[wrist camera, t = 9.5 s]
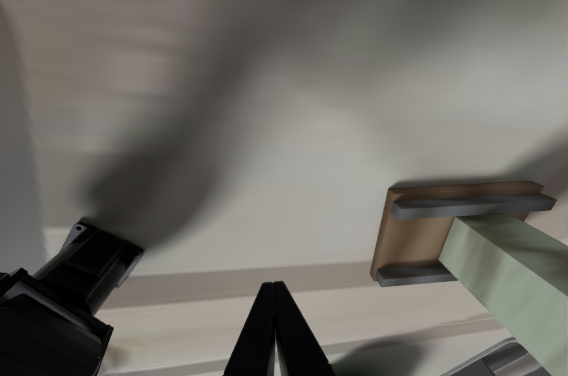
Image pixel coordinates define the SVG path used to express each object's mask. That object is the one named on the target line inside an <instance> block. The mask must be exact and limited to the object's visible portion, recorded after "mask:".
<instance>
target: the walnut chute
mask: <svg viewBox="0 0 568 376" xmlns="http://www.w3.org/2000/svg"><path fill="white" fill-rule="evenodd" d="M543 187H544V186H543V185H540V184H537V183H535V182H532V181H525V182H506V183H488V184H469V185H451V186H432V187H414V188H395V189H388V193H387V197H386V202H385V206H384V211H383V216H382V220H381V225H380V229H379V234H378V239H377V243H376V248H375V252H374V257H373V262H372V266H371V271H370V275H371V277H372V278H373V280H374V281H378V282H379V284H380V286H381V287H389V286H400V285H412V284H423V283H435V282H446V281H458V279H457V278H456V277H455V276H454V275H453V274H452V273H451V272H450V271H449V270H448V269H447V268H446V267H445V266H444V265H443V264H442V263H441V262H440V261H439V260H438V259H439V257H440V254H441V252H442V249H443V247H444V244H445V242H446V239H447V236H448V234H449V231H450V229H451V226H452V224H453V221H454V219H455V217H459V216H474V215H489V214H505V213H508V214H510V215H512V216H514V217H516V218H517V219H519V220H521V221H523V222H524V220H525V219H526V217H527V215H528V213H529V212H531V211H547V210H551V209H552V208H553V206H554V204H555V203H556V201H557V200H556V199H554V198H551V197H549V196H547V195H544V194H542V193H540V192H541V190H542V188H543Z"/></svg>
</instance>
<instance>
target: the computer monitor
mask: <svg viewBox="0 0 568 376" xmlns="http://www.w3.org/2000/svg"><path fill="white" fill-rule="evenodd" d="M528 354H529V352H528V351H527V350H526V349H525V348H524V347H523V346H522V345H521V344H520V343H519V342H518V341H517V340H516V338H509V339H506V340H503V341H501V342H500V343H498V344H496V345H494V346H493V347H491V348H489V349H487V350H486V351H484V352H482V353H480V354H479V355H477V356H475V357H473V358H472V359H470V360H468V361H466V362H464V363H463V364H461V365H459V366H457V367H456V368H454V369H452V370H450V371H449V372H447V373H445V374H443V375H442V376H495V374H494V373H495V372H497V371H498V370H500V369H502V368H504V367H506V366H508V365H510V364H512V363H514V362H516V361H517V360H519V359H521V358H523V357H525V356H527V355H528Z"/></svg>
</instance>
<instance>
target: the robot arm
mask: <svg viewBox="0 0 568 376" xmlns="http://www.w3.org/2000/svg"><path fill="white" fill-rule="evenodd" d="M143 253H144V250H143V249H142V248H140V247H137V246H135V245H133V244H131V243H129V242H126V241H124V240H122V239H120V238H117V237H115V236H113V235H111V234H108V233H106V232H104V231H102V230H99V229H97V228H95V227H93V226H91V225H88V224H86V223H84V222H77V223H76V224H75V225H74V226H73V227H72V229H71V231H70V233H69V235H68V237H67V239H66V241H65V242H64V244H63V246H62V248H61V250H60V252H59V253H58V254H57V255H56V256H55V257H54V258H52V259H51V260H50V261H49V262H48V263H47V264H45V265H44V266H43V267H42V268H41V269H40V270H38V271H37V272H36V273H35V274H34V275H32V276H31V275H29V274H28V271H26V270H25V269H23V268H19V269H17V270H15V271H14V272H12V273H10V274H8V273H0V376H97V374H98V371H99V368H100V365H101V363H102V360H103V357H104V354H105V351H106V349H107V346H108V343H109V340H110V337H111V335H112V332H113V329H114V328H113V327H112V326H110V325H106V324H105V323H103V322H102V321H100V320H99V319H97V318H96V317H94V316H95V314H96V313H97V311H98V310H99V309H100V307H101V306H102V304H103V303H104V302H105V300H106V299H107V297H108V296H109V295H110V293H111V292H112V290H113V289H114V288H119V287H120V286H121V285H122V283H123V282H124V281H125V279H126V278H127V276H128V275H129V273H130V272H131V271H132V269H133V268H134V266H135V265H136V263H137V262H138V260H139V259H140V258H141V256H142V255H143ZM273 293H274V295H273ZM274 313H275V315H274ZM275 333H276V336H275ZM276 345H277V352H278V358H279V364H280V371H281V376H337V375H336V373H335V371H334V370H333V368H332V366H331V364H328V363H329V361H328V359H327V358H326V356H325V354H324V352H323V350H322V349H321V347H320V345H319V343H318V342H317V340H316V338H315V336H314V335H313V333H312V331H311V329H310V327H309V326H308V324H307V322H306V320H305V319H304V317H303V315H302V313H301V312H300V310H299V308H298V306H297V304H296V303H295V301H294V299H293V297H292V296H291V294H290V292H289V290H288V289H287V287H286V285H285V283H284V282H283V281H275V282H273V283H272V282H263V283H262V285H261V287H260V290H259V292H258V294H257V297H256V299H255V301H254V303H253V306H252V308H251V310H250V313H249V315H248V317H247V320H246V322H245V324H244V327H243V329H242V331H241V334H240V336H239V338H238V341H237V343H236V345H235V347H234V350H233V352H232V354H231V357H230V359H229V361H228V364H227V366H226V368H225V371H224V375H222V376H274V365H275V346H276Z"/></svg>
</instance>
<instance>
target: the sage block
mask: <svg viewBox="0 0 568 376" xmlns="http://www.w3.org/2000/svg"><path fill="white" fill-rule="evenodd" d="M438 260H439V261H440V262H441V263H442V264H443V265H444V266H445V267H446V268H447V269H448V270H449V271H450V272H451V273H452V274H453V275H454V276H455V277H456V278H457V279H458V280H459V281H460V282H461V283H462V284H463V285H464V286H465V287H466V288H467V289H468V290H469V291H470V292H471V293H472V294H473V296H474V297H475V298H476V299H477V300H478V301H479V302H480V303H481V304H482V305H483V306H484V307H485V308H486V309H487V310H488V311H489V312H490V313H491V314H492V315H493V316H494V317H495V318H496V319H497V320H498V321H499V322H500V323H501V324H502V325H503V326H504V327H505V328H506V329H507V330H508V331H509V332H510V333H511V334H512V335H513V336H514V337H515V338H516V340H517V341H518V342H519V343H520V344H521V345H522V346H523V347H524V348H525V349H526V350H527V351H528V352H529V353H530V354H531V355H532V356H533V357H534V358H535V359H536V360H537V361H538V362H539V363H540V364H541V365H542V366H543V367H544V368H545V369H546V370H547V371H548V372H549V373H550V374H551V375H552V376H568V246H567V245H565V244H563V243H562V242H560V241H558V240H556V239H554V238H552V237H551V236H549V235H547V234H545V233H543V232H541V231H539V230H538V229H536V228H534V227H532V226H530V225H528V224H527V223H525V222H523V221H521V220H519V219H517V218H516V217H514V216H512V215H510V214H508V213H505V214H489V215H474V216H459V217H455V219H454V221H453V224H452V226H451V229H450V231H449V234H448V236H447V239H446V242H445V244H444V247H443V249H442V252H441V254H440V257H439V259H438Z"/></svg>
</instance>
